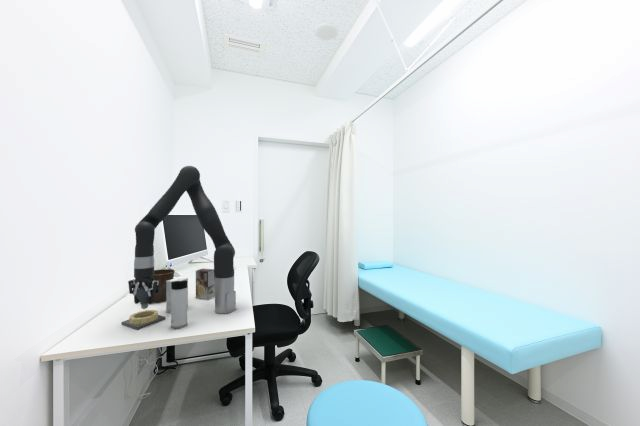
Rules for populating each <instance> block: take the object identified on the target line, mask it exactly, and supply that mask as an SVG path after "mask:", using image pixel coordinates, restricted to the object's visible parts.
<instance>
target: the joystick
mask: <svg viewBox="0 0 640 426" xmlns="http://www.w3.org/2000/svg"><path fill="white" fill-rule="evenodd" d="M163 321H166V316H164V315H162V314H161V315H160V314H159V311H158V310H155V309H147V310H145V309H144V310H141V311H137V312H134V313H133V314H131V315H129V319H126V320H122V321H121V323H120V324H121V326H124V327H126V328H130V329H132V330H133V329H134V330H136V331H139V330H141V329H144V328H147V327H149V326H152V325H156V324H158V323H160V322H163Z"/></svg>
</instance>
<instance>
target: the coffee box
mask: <svg viewBox="0 0 640 426" xmlns="http://www.w3.org/2000/svg"><path fill="white" fill-rule="evenodd" d="M199 298H201V300H207V299H208V300H211V299H212V298H215V273H214V268H199V269H197V270H195V299H199Z"/></svg>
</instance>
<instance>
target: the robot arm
mask: <svg viewBox="0 0 640 426" xmlns="http://www.w3.org/2000/svg"><path fill="white" fill-rule="evenodd" d="M200 178H201V173H200V171H199V169H198V168H197V167H195V166H193V165H186V166H183V167H182V168H181V169H180V171H179V172H178V174H177V176H176V178H175V180H174V181H173V182H172V184H171V185H170V187H169V188H168V189H167V190H166V191H165V193H164V194H163V195H162V196H161V197H160V198H159V199H158V200H157V202H155V204H154V205H153V206H152V207H151V208H150V209H149V211H148V212H147V214H146V215H145V216H143V218H142V219H141V220H140V221H139V222H138V223H136V225H135V227H134V232H135V247H134V261H133V277H134V279H131V280H128V281H127V283H128V291H129V294H130V295H133V302H134V304H135V305H137V304H140V301H139V300H138V299H137V297H136V293H137V291H138V290H139V289H140V288H144V289H145V291H146V292H147V293H148V295H149V296H148V305H152V304H154V303H155V302H154V295H155V294H157V293H159V286H160V281H159V280H158V281H155V280H154V279H153V276H154V270H155V255H154V254H155V248H154V247H155V246H154V243H155V242H154V241H155V232H156V231H155V229H156V228H157V227H158V226H159V224H160V223H161V222H163V221H164V220H165V219H166V218H167V217H168V216H169V214H170V213H171V212H172V211H173V209H174V208H175V206H176V205H177V204H178V202H179V201H180V199H181V197H182V196H183V195H184V193H187V195H188V197H189V199H190V201H191V204H192V207H193V210H194V213H195V215H196V217H197V219H198V221H199V223H200V225H201V227H202V228H203V230H204V231H205V233H206V234H207V235H208V237H210V239H211V241H212V243H213V246H214V248H215V250H214V253H213V269H214V273H215V297H214V312H215V313H216V314H225V315H227V314H229V313H230V312H234V311H235V310H236V309H237V308H236V307H237V305H236V304H237V303H236V300H237V299H236V298H237V297H236V296H237V294H236V290H235V267H234V258H235V256H236V250H235V248H234V245H233V244H232V242H231V241H230V239H229V237H228V235H227V234H226V232H225V230H224V226H223V224H222V221H221V219H220V217H219V214H218V211H217V210H216V208H215V206H214V204H213V203H212V202H211V200H210V198H209V196H207V194H206V192H205V191H204V188H203V186H202V183H201V179H200ZM152 284H153V285H152ZM148 288H150V289H148ZM150 290H151V292H150Z"/></svg>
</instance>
